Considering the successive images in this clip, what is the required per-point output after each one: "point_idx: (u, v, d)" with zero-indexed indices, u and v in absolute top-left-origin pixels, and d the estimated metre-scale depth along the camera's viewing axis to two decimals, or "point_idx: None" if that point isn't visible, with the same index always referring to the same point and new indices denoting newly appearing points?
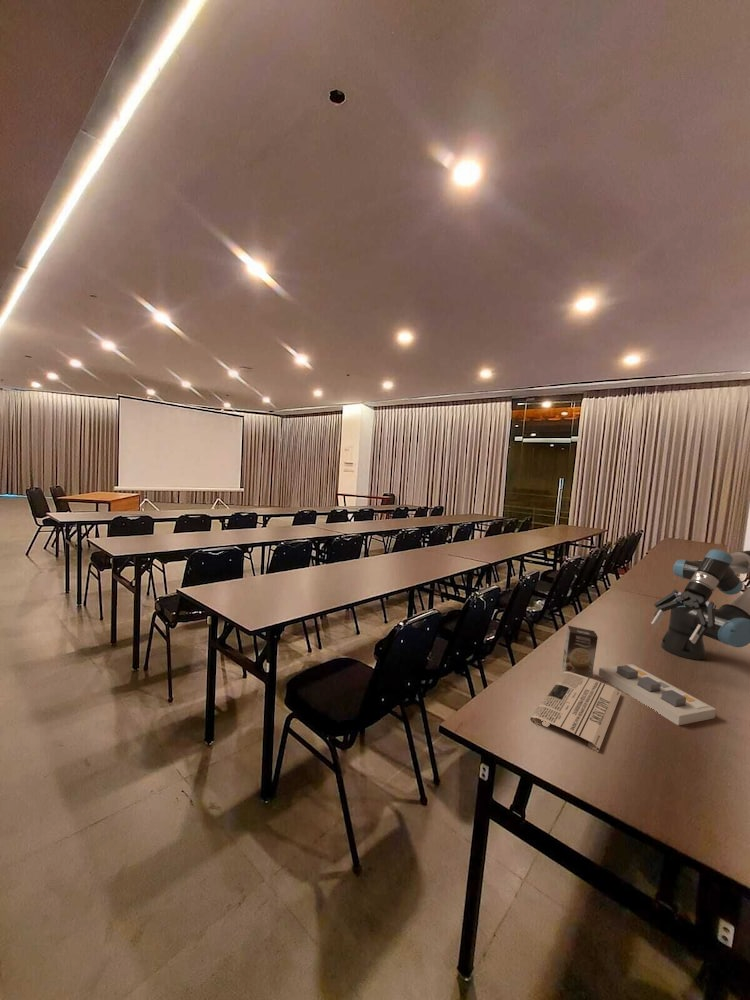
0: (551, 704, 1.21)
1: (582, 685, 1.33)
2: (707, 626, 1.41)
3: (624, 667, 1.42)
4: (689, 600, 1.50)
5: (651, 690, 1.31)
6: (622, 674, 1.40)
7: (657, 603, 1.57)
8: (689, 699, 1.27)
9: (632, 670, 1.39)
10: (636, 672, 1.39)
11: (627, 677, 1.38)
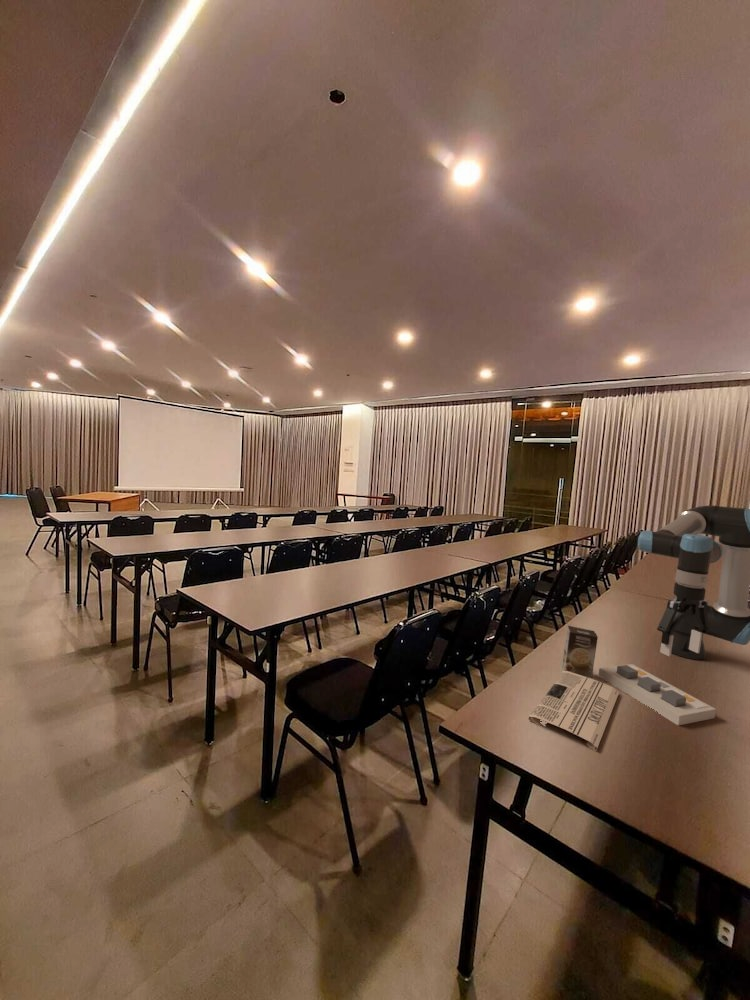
0: (550, 703, 1.22)
1: (580, 684, 1.34)
2: None
3: (624, 667, 1.42)
4: None
5: (651, 690, 1.31)
6: (622, 674, 1.40)
7: (667, 629, 1.20)
8: (689, 699, 1.27)
9: (632, 670, 1.39)
10: (636, 672, 1.39)
11: (627, 677, 1.38)
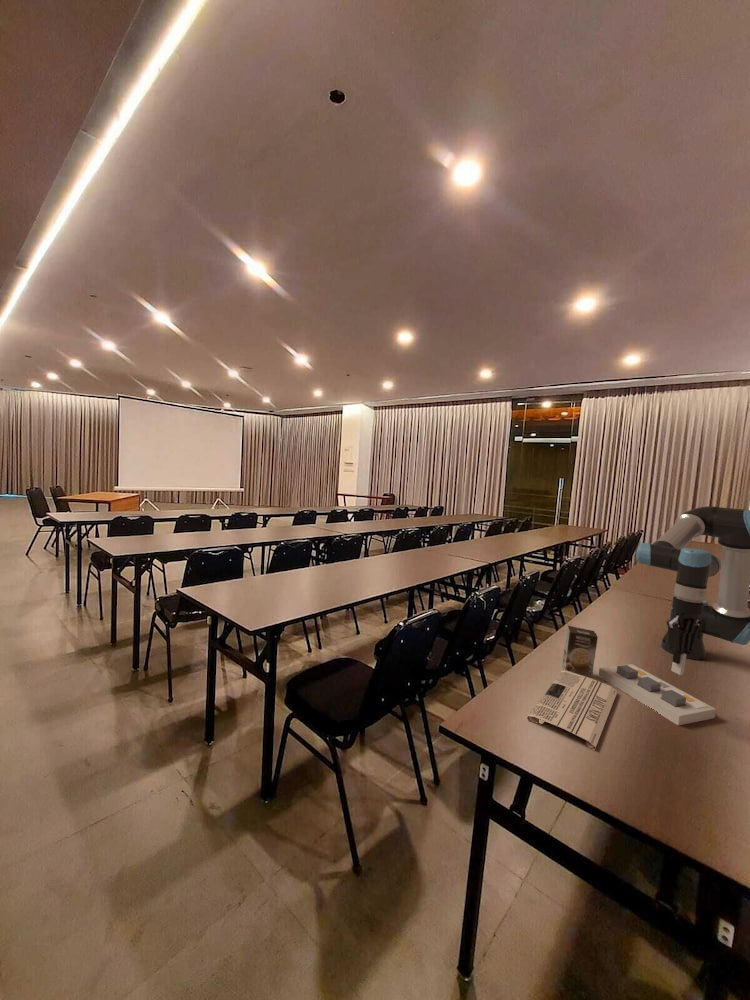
0: (548, 702, 1.22)
1: (579, 684, 1.34)
2: None
3: (624, 667, 1.42)
4: None
5: (651, 690, 1.31)
6: (622, 674, 1.40)
7: (678, 648, 1.22)
8: (689, 699, 1.27)
9: (632, 670, 1.39)
10: (636, 672, 1.39)
11: (627, 677, 1.38)
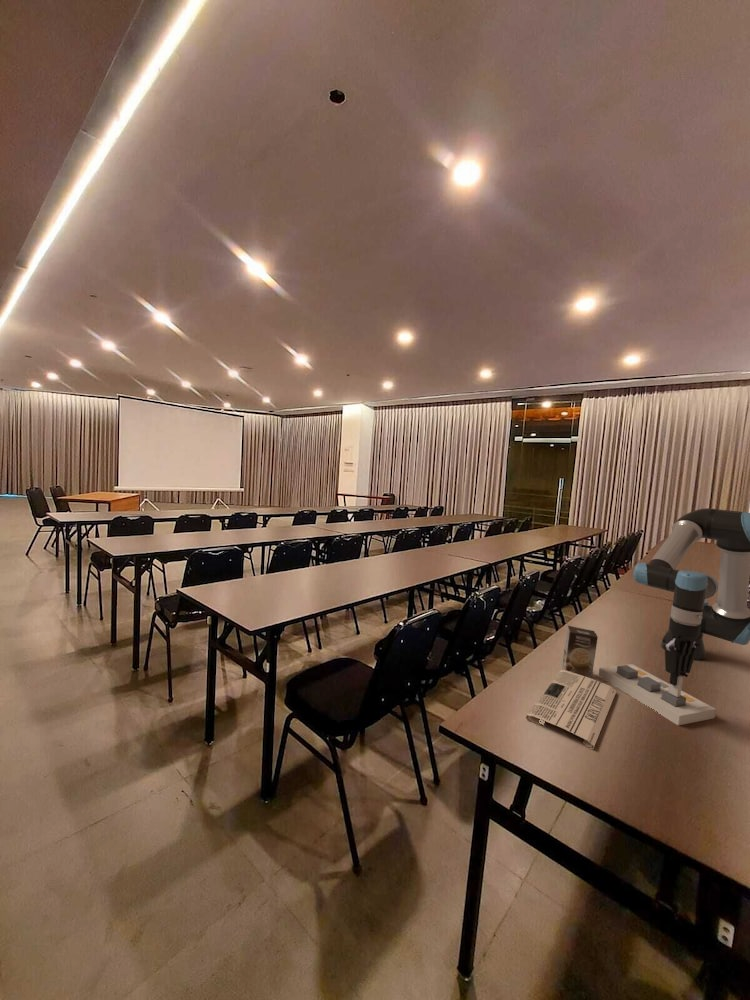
0: (547, 702, 1.22)
1: (578, 683, 1.34)
2: None
3: (624, 667, 1.42)
4: None
5: (651, 690, 1.31)
6: (622, 674, 1.40)
7: (674, 671, 1.23)
8: (689, 699, 1.27)
9: (632, 670, 1.39)
10: (636, 672, 1.39)
11: (627, 677, 1.38)
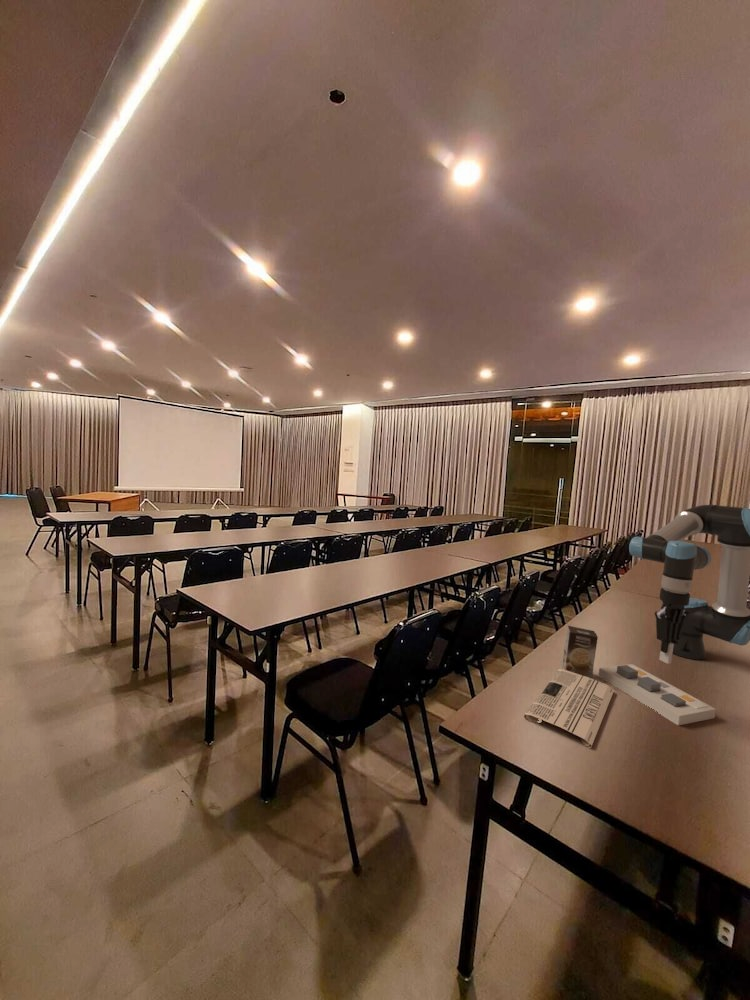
0: (545, 701, 1.23)
1: (576, 683, 1.35)
2: None
3: (624, 667, 1.42)
4: None
5: (651, 690, 1.31)
6: (622, 674, 1.40)
7: (665, 638, 1.26)
8: (689, 699, 1.27)
9: (632, 670, 1.39)
10: (636, 672, 1.39)
11: (627, 677, 1.38)
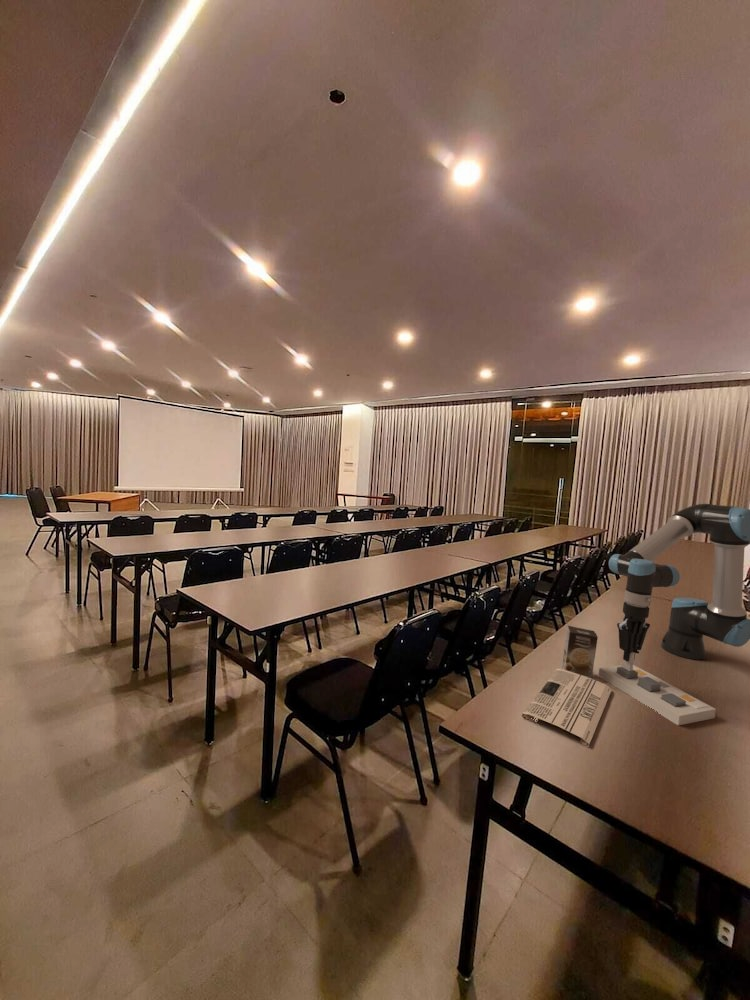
0: (543, 700, 1.23)
1: (573, 682, 1.35)
2: None
3: None
4: None
5: (651, 690, 1.31)
6: (622, 675, 1.40)
7: (627, 648, 1.38)
8: (689, 699, 1.27)
9: (631, 672, 1.39)
10: (636, 673, 1.39)
11: (627, 678, 1.38)
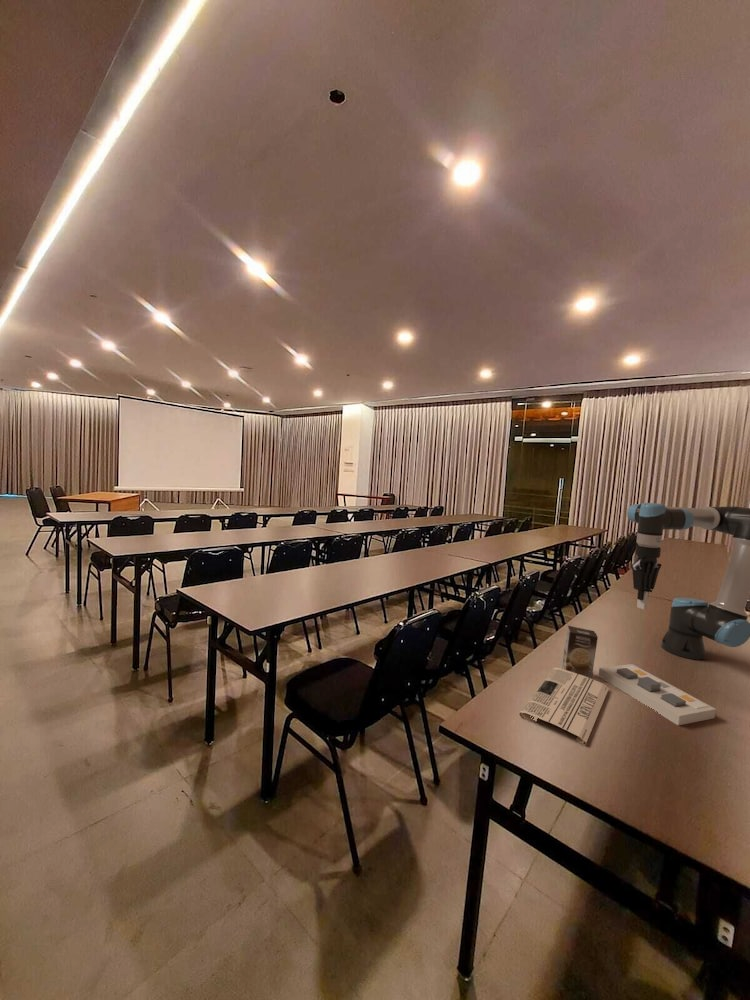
0: (540, 699, 1.23)
1: (571, 681, 1.36)
2: None
3: (624, 670, 1.42)
4: None
5: (651, 690, 1.31)
6: None
7: (641, 587, 1.46)
8: (689, 699, 1.27)
9: (631, 673, 1.40)
10: (636, 675, 1.39)
11: None
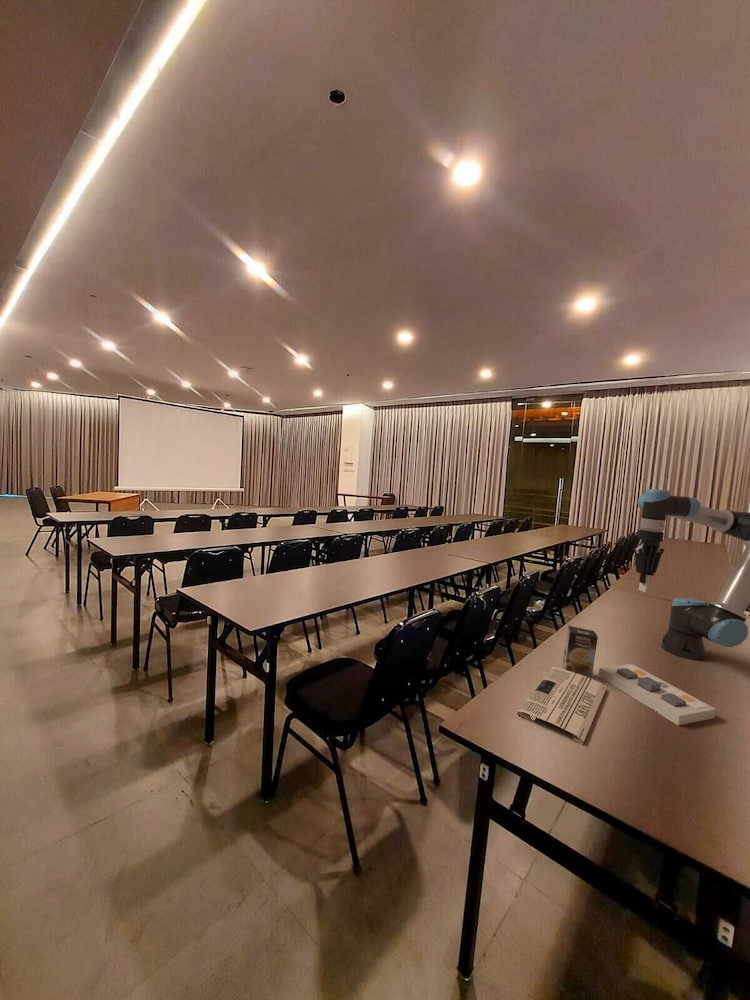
0: (538, 698, 1.24)
1: (569, 680, 1.36)
2: (650, 574, 1.53)
3: (624, 670, 1.42)
4: None
5: (651, 690, 1.31)
6: None
7: (643, 570, 1.50)
8: (689, 699, 1.27)
9: (631, 673, 1.40)
10: (636, 675, 1.39)
11: None
